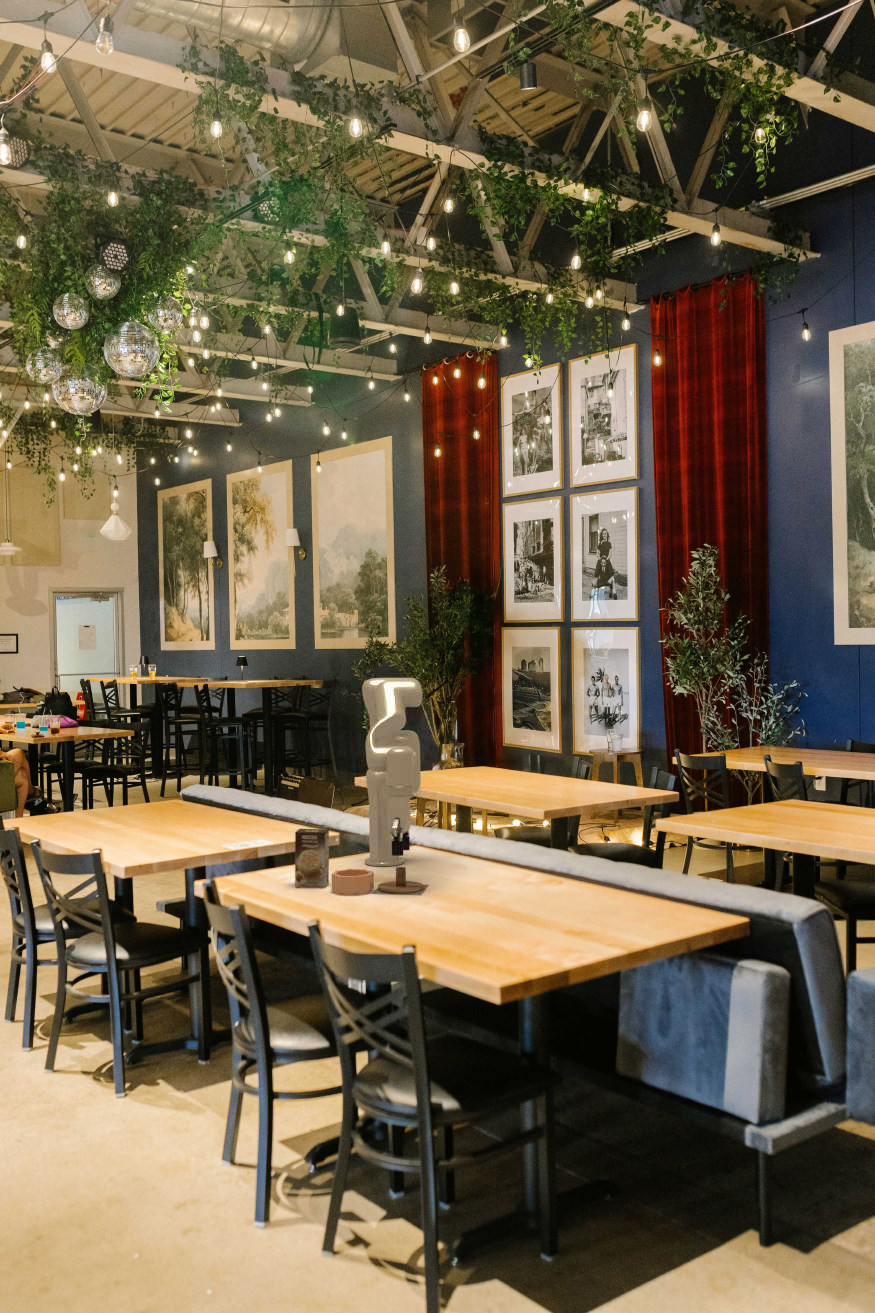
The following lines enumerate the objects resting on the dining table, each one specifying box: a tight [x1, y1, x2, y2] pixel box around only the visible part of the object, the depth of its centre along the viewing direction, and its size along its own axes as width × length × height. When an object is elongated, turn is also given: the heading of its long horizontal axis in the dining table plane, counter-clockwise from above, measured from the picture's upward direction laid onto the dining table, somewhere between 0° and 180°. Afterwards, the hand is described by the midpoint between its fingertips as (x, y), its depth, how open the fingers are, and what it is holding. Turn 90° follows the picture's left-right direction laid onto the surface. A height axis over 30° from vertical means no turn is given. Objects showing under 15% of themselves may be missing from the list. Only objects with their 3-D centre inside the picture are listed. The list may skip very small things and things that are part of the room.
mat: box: [371, 883, 430, 896], centre depth 300 cm, size 14×14×1 cm
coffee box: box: [294, 828, 330, 889], centre depth 309 cm, size 9×6×16 cm
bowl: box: [331, 868, 375, 897], centre depth 298 cm, size 11×11×6 cm
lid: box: [377, 866, 424, 894], centre depth 300 cm, size 13×13×6 cm
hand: (400, 853), depth 300 cm, fingers open, 9 cm apart
